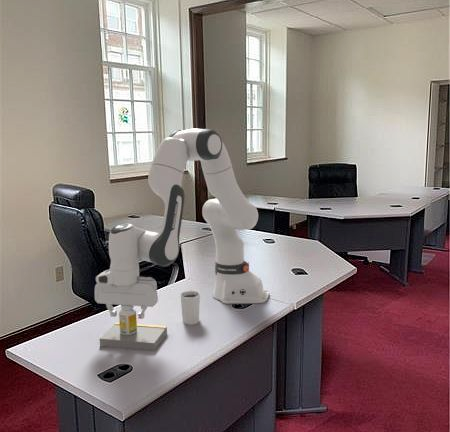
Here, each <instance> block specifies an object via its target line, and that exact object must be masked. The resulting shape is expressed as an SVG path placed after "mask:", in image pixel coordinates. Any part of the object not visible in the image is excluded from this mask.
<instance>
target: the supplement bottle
mask: <svg viewBox="0 0 450 432" xmlns="http://www.w3.org/2000/svg"><path fill="white" fill-rule="evenodd" d="M134 307H135V306H132V305H120V308H121V309H120V310H119V311H118V315H119V317H118V318H119V319H118V320H119V321H118V322H119V323H120V333H121V334H123V335H131V334H134V333H136V331H137V324H138V323H137V322H138V321H137V310H136V309H135V308H134Z"/></svg>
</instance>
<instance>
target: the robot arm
mask: <svg viewBox="0 0 450 432" xmlns="http://www.w3.org/2000/svg"><path fill="white" fill-rule="evenodd" d="M229 155H230V154H229V152H228V150H227V148H226V146H225V143H224V142H223V140H222V138H221V135H220V134H219V133H218V132H217V131H216V130H213V129H210V128H190V129H184V130H181V129H179V130H176V131H174V132H171V133H170V134H169V135H168V136H167V137H165V138H164V139H163V140H161V142H160V144H159V145H158V148H157V149H156V152H155V154H154V157H153V159H152V161H151V162H152V163H151V165H150V168H149V172H148V177H147V182H148V185H149V188H150V189H151V190H152V191H153V193H154V194H155V195H157V196H158V197H159V198H161V199H162V201H163V203H164V213H163V219H162V226H161V230H160V232H156V231H151V230H146V229H142V228H140V227H137V226H135V225H134V224H133V223H128V222H126V223H120V224H117V225H115V226H113V227H112V228H111V229H110V231H109V234H108V255H109V259H110V265H109V269H106V270H103V272H100V273H99V274H98V275H96V276H95V282H96V284H95V285H94V301H95V302H96V303H97V304H104V305H106V306H105V307H106V309H107V310H108V311H109V313H110V314H109V315H110V317H112V318H113V317H114V318H115V317H117V315H118V313H117V312H118V310H117V309H114V306H113V305H116V306H117V305H118V306H119V305H120V306H121V305H132V306H134V307H140V310H141V311H139V312H138V313H137V316H138V317H137V318H138V319H140V320H143V319H144V318H145V312H146V311H147V308H149V307H150V308H153V307H155V306H156V305H157V304H158V301H159V297H158V296H159V295H158V291H157V289H158V286H157V285H158V284H157V282H158V281H156V280H155V278H153V277H151V276H140V266H139V265H140V264H139V261H140V262H141V261H145V262H148V263H152V264H155V265H157V266H159V267H161V268H162V267H164V268H165V267H168V266H170V265H171V264H173V263H174V262H175V261H176V260H177V258H178V256H179V253H180V234H181V228H182V222H183V220H182V219H183V214H184V206H185V196H186V195H185V191H184V189H183V185H182V184H183V177H184V172H185V171H186V170H185V169H186V164H187V162H188V161H190V162H196V161H200V164H201V165H200V166H201V170H202V173H203V177H204V181H205V184H206V187H207V190H208V192H209V193H210V194H211V195H212V196H213V197H214V198H210V199H208V200H206V201H205V202H204V204H203V206H202V208H201V209H202V210H201V211H202V212H201V213H202V214H201V215H202V217H203V219H204V221H205V222H206V223H207V225H208V226H209V228H210V230H211V233H212V235H213V239H214V243H215V262H214V273H215V283H214V289H213V292H212V296H213V298H215V299H216V300H218V301H220V302H222V303H223V304H230V305H231V304H232V305H233V304H263V303H265V302H267V300H268V299H269V297H270V294H269V290H267V288H264V285H263V282H262V279H261V278H260V277H258V276H257V275H256V274H255V273H253V272H252V271H251V270H250V263H249V261H245V245H244V244H245V243H244V241H243V240H242V238H241V237H240V236H239V235H238V233H237V230H238V231H247V230H252V229H253V228H254V227H255V226H256V225H257V223H258V220H259V212H258V209H257V206H255V205H254V204H253V203H251V202H250V201H249V199H248V198H247V197H246V196H245V195H244V193H243V192H242V189H241V188H240V186H239V185H238V182H237V179H236V177H235V176H236V175H235V172H234V168H233V165H232V161H231V158H230V156H229Z"/></svg>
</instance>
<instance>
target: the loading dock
mask: <svg viewBox="0 0 450 432" xmlns="http://www.w3.org/2000/svg"><path fill="white" fill-rule="evenodd" d="M167 334H168V326H167V325H166V326H165V325H154V324H142V323H137V331H136V333H134V334H131V335H123V334H121V333H120V322H119V321H118V322H115V323H114V324H113V325H112V326H110V328H109V329H108V330H107V331H106V332H105V333H104V334H103V335H101V336H100V337H99V346H100V347H105V348H107V347H109V348H119V349H120V348H121V349H129V350H139V351H140V350H142V351H150V352H151V351H153V352H155V350H156V349H157V348H158V347H159V345H160V344H161V343H162V341H163V340H164V338H165V337H166V336H167Z"/></svg>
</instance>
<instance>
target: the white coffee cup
mask: <svg viewBox="0 0 450 432" xmlns="http://www.w3.org/2000/svg"><path fill="white" fill-rule="evenodd" d="M200 296H201V295H200V292H199V291H196V290H186V291H182V292H181V293H180V304H181V305H180V307H181V315H182V316H181V317H182V323H183V324H185V325H190V326H191V325H196V324H198V323H200V298H201V297H200Z"/></svg>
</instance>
